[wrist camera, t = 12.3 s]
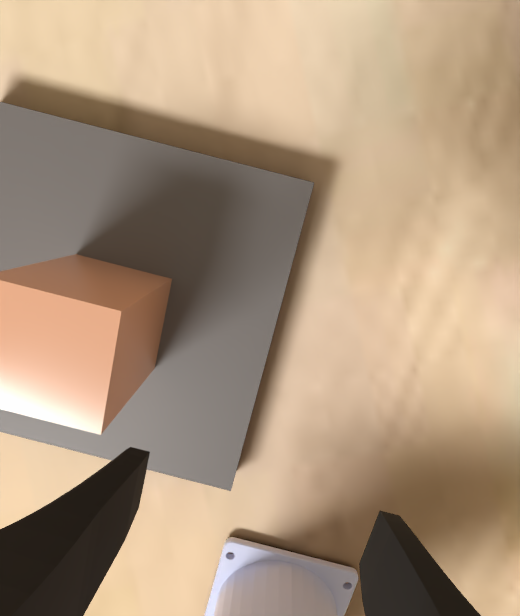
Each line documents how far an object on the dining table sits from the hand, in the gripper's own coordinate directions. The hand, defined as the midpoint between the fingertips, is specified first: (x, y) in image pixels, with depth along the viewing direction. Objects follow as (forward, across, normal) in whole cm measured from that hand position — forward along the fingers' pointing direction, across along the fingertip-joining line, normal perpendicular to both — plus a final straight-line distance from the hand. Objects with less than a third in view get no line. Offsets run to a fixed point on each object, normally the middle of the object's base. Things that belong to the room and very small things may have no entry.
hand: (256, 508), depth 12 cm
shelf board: (+9, +8, -2) cm, 13 cm away
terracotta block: (+8, +8, -2) cm, 11 cm away
